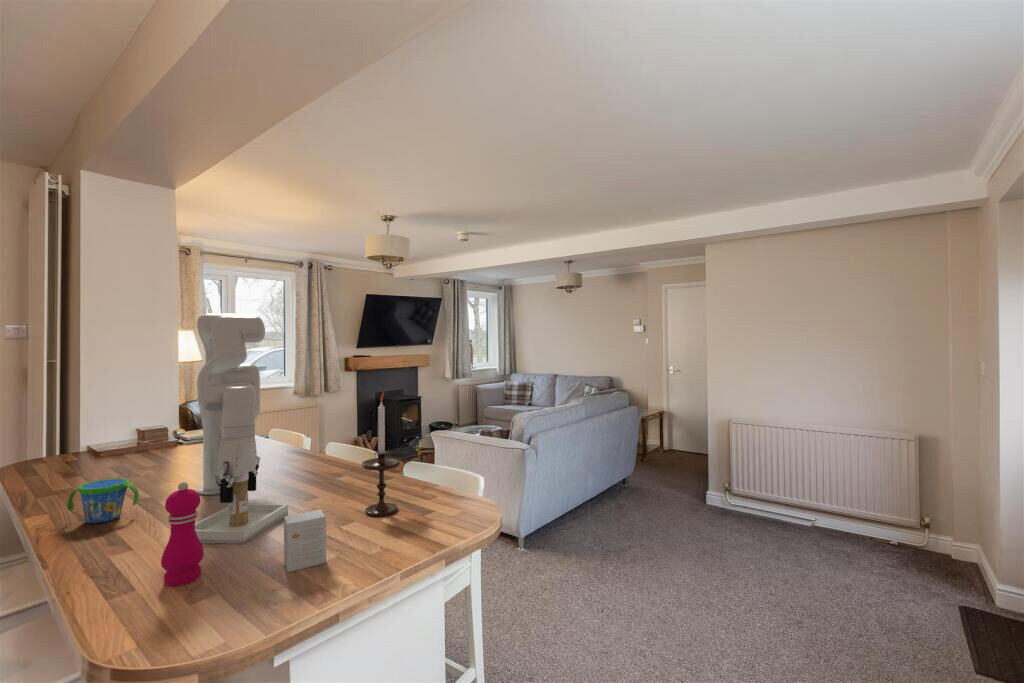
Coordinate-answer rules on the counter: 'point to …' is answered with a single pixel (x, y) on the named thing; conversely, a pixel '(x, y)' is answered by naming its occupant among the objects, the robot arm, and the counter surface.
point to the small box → (304, 540)
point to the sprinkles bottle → (239, 501)
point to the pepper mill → (182, 538)
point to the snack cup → (102, 499)
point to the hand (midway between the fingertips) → (238, 496)
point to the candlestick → (381, 469)
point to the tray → (258, 521)
